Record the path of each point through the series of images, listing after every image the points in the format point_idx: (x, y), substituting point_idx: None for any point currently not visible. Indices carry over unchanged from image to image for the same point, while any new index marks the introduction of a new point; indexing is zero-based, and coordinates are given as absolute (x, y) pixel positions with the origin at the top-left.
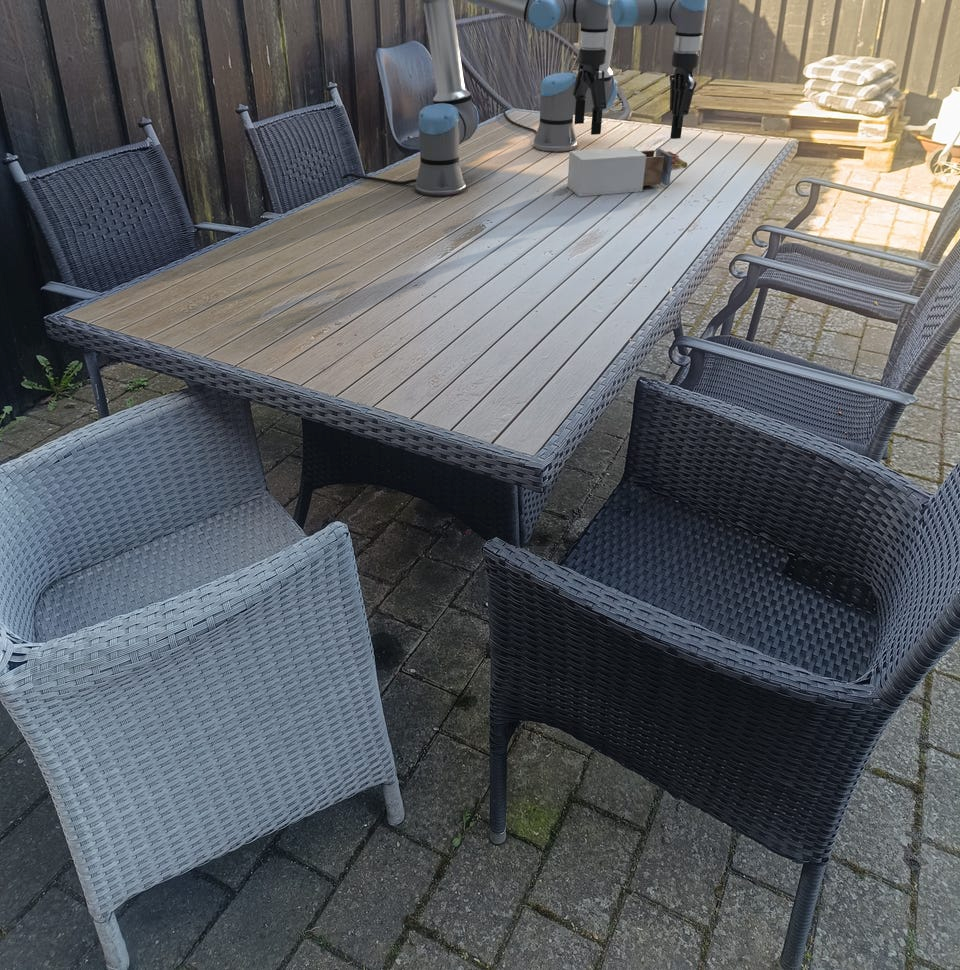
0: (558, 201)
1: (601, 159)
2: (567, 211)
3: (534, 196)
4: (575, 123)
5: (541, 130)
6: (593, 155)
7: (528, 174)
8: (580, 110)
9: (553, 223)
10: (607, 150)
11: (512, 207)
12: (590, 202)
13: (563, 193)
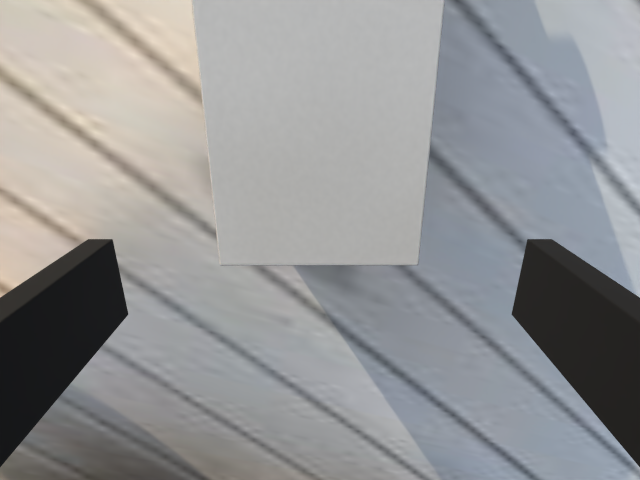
0: (411, 292)
1: (429, 146)
2: None
3: (334, 344)
4: (124, 314)
5: None
6: (347, 168)
7: None
8: (43, 349)
9: None
10: (248, 20)
11: (417, 423)
12: (465, 191)
13: None
